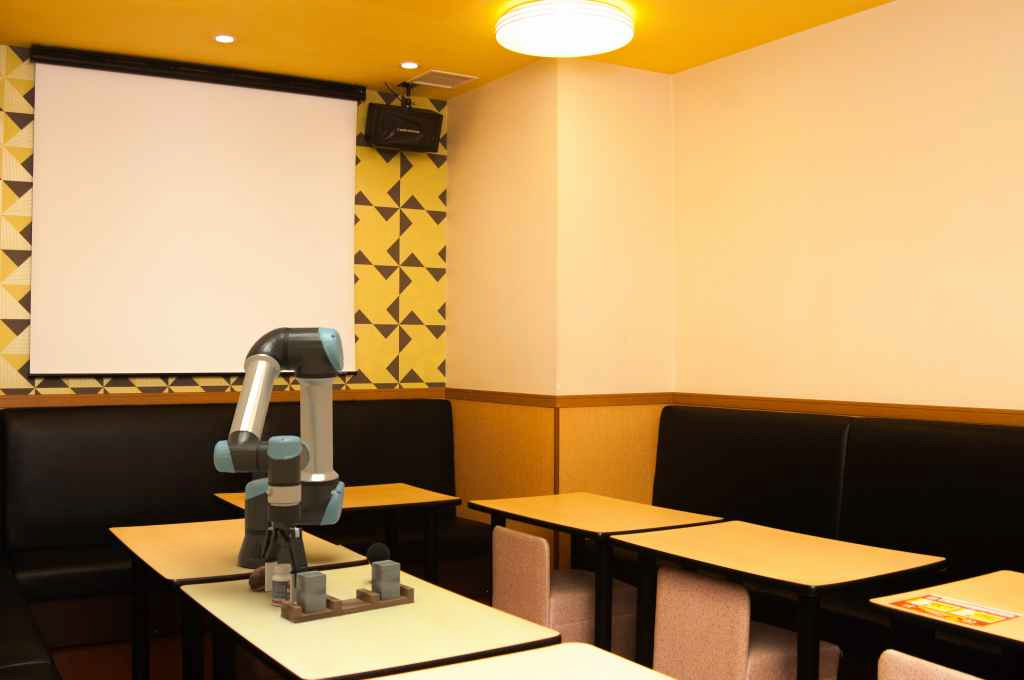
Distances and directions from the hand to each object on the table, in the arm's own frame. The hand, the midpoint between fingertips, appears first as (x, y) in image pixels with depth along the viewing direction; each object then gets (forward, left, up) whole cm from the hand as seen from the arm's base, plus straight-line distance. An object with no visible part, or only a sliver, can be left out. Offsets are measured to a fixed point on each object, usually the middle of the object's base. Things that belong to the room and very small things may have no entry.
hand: (283, 595), depth 232 cm
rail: (+13, +10, -2) cm, 16 cm away
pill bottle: (0, 0, -2) cm, 2 cm away
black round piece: (-5, +28, -2) cm, 29 cm away
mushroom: (-16, +2, -2) cm, 16 cm away
